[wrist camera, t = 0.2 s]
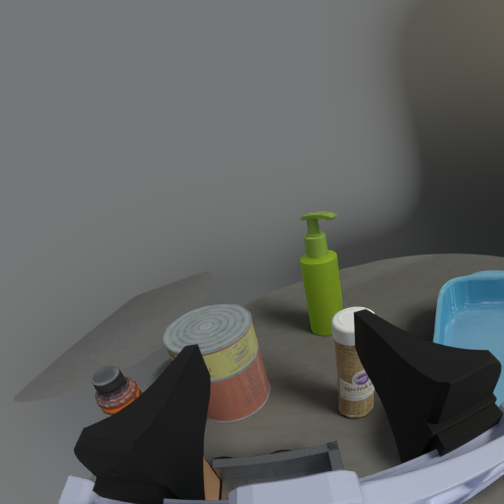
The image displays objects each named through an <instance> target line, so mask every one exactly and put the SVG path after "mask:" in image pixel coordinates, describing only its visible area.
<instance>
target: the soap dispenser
mask: <svg viewBox="0 0 504 504" xmlns="http://www.w3.org/2000/svg"><path fill="white" fill-rule="evenodd" d="M336 216H337V214H335V213H331V212H313V213H307V214H305V215H303V216H301V220H307V226H308V232H309V233H307V235H305V236H304V240H305V246H306V252H307V254H305V255H303V256H302V257H301V258H300V264H301V269H302V275H303V281H304V287H305V293H306V299H307V305H308V312H309V318H310V325H311V330H312V332H313V333H315V334H317V335H320V336H330V335H332V318H333V317H334V315H335V314H336V313H338V312H339V311H341V310H343V305H342V295H341V286H340V277H339V269H338V261H337V254H336V253H335V252H334V251H331V250H328V247H327V240H326V234H325V233H324V232H322V231H319V225H318V219H327V220H332V219H333V218H335V217H336Z"/></svg>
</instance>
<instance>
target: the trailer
mask: <svg viewBox="0 0 504 504" xmlns="http://www.w3.org/2000/svg"><path fill="white" fill-rule="evenodd" d="M211 468H212V470H213V471H214V472H215V474H216V475H217V476H218V477H219V478H220V479H221V481H222V482H223V483H222V498H221V500H229V492H230V491H232V490H234V489H236V488H237V487H239V486H243V485H249V484H254V483H263V482H272V481H279V480H286V479H292V478H298V477H303V476H308V475H313V474H318V473H323V472H328V471H335V470H344V466H343V463H342V459H341V455H340V452H339V448H338V444H337V441H334V442H330V443H326V444H322V445H318V446H313V447H308V448H303V449H298V450H293V451H292V450H279V451H275V452H273V453H271V454H267V455H260V456H251V457H241V458H232V457H218V458H215V459H213V460H212V462H211Z"/></svg>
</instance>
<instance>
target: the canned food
mask: <svg viewBox="0 0 504 504" xmlns="http://www.w3.org/2000/svg"><path fill="white" fill-rule="evenodd" d="M163 343H164V345H165V347H166V348H167V350H168V352H169V355H170V357H171V359H172V361H173V360H174V359H175V358H176V356H177V355H178V354H179V353H180V351H181V350H182V349H183V348H184V347H185V346H187V345H194V344H198V346H199V348H200V351H201V354H202V356H203V359H204V361H205V364H206V366H207V368H208V371H209V373H210V376H211V389H210V400H209V407H208V413H207V419H206V420H209V421H212V422H217V423H231V422H236V421H240V420H243V419H245V418H248V417H250V416H251V415H253V414H255V413H256V412H257V411H259V410H260V409H261V408H262V407H263V406H264V404H265V403H266V402H267V400H268V398H269V395H270V384H269V381H268V379H267V375H266V371H265V368H264V364H263V361H262V357H261V353H260V350H259V346H258V342H257V338H256V335H255V331H254V327H253V323H252V317H251V313H250V312H249V311H248V310H247V309H246V308H245V307H243V306H240V305H236V304H227V303H226V304H214V305H209V306H205V307H201V308H198V309H195V310H192V311H190V312H188V313H186V314H184V315H182V316H181V317H179V318H178V319H176V320H175V321H174V322H172V323H171V324H170V325H169V326H168V328H167V329H166V330H165V332H164V335H163Z"/></svg>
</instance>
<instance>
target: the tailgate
mask: <svg viewBox="0 0 504 504" xmlns="http://www.w3.org/2000/svg"><path fill="white" fill-rule="evenodd" d="M203 465H204V489H205V500H219V490H220V479H219V478H218V477H217V475H216V474H215V472H214V471H213V470H212V468H211V467H210V465H209V464H208V463H207V461H206V460H205V458H204V457H203Z"/></svg>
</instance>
